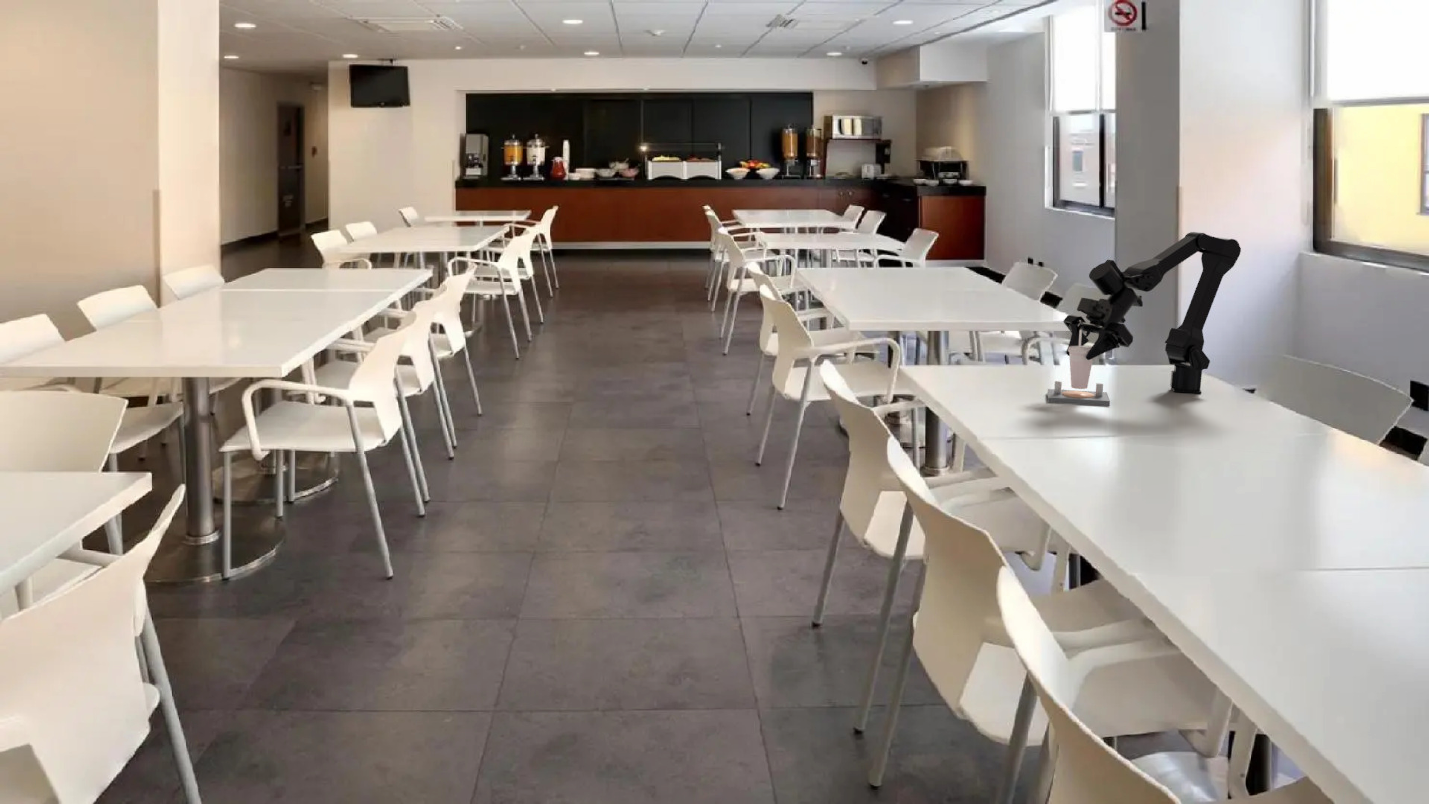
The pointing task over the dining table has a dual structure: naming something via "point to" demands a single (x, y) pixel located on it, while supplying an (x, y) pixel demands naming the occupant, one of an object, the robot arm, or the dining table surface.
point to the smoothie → (1079, 365)
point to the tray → (1078, 396)
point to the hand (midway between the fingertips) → (1077, 356)
